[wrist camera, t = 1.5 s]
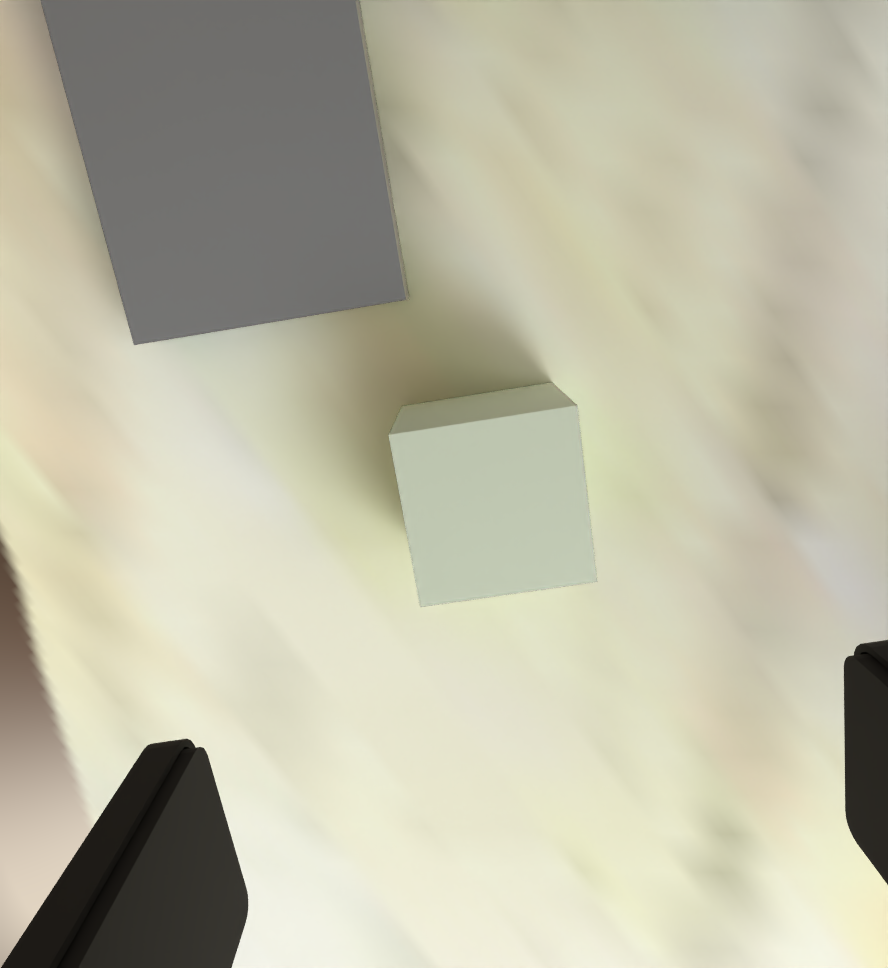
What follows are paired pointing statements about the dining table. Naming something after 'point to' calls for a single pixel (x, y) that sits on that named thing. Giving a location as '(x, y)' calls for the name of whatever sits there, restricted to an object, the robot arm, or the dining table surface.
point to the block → (494, 494)
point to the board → (231, 158)
